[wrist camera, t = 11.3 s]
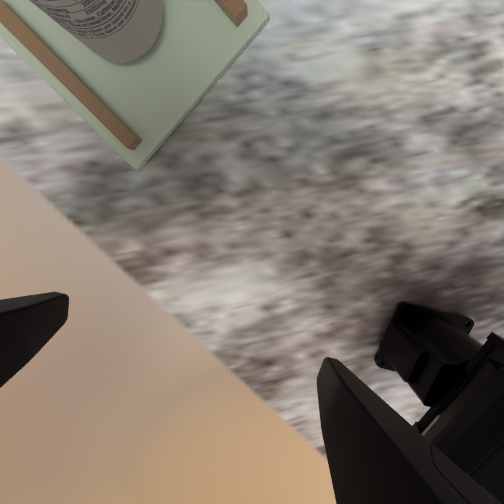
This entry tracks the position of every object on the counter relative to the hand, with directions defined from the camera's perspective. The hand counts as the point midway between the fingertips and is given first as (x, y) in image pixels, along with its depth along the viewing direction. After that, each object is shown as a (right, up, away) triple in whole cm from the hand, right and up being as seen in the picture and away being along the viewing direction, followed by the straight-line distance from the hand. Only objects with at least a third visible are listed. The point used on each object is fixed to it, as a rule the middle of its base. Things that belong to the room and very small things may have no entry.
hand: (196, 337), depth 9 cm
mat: (-7, +19, +9) cm, 22 cm away
